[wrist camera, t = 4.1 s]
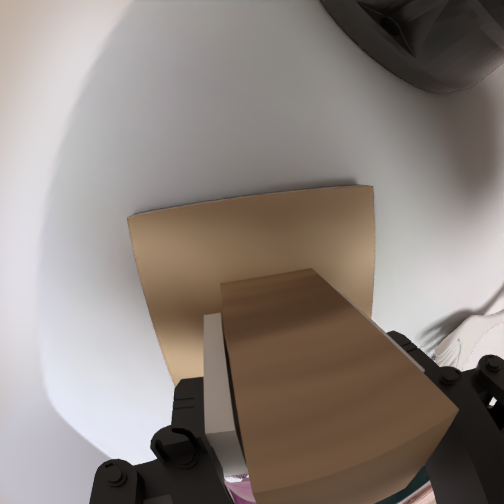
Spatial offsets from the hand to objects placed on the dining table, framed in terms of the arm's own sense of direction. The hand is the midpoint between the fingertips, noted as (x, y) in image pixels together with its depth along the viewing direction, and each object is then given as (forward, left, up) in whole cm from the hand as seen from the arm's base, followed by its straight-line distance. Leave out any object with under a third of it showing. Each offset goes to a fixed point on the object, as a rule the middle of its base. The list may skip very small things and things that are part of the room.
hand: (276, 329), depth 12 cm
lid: (0, 0, -2) cm, 2 cm away
